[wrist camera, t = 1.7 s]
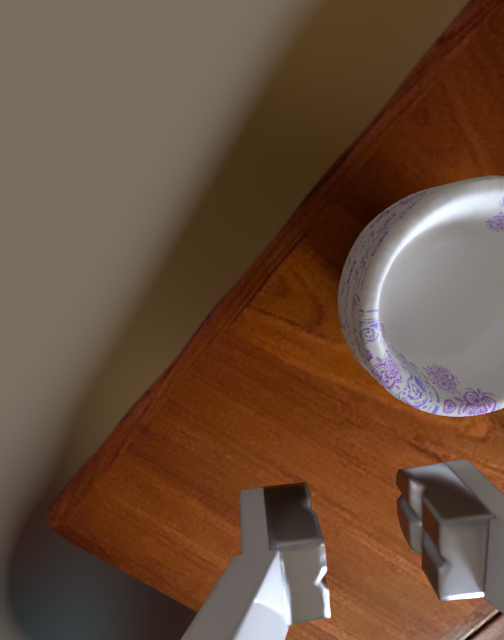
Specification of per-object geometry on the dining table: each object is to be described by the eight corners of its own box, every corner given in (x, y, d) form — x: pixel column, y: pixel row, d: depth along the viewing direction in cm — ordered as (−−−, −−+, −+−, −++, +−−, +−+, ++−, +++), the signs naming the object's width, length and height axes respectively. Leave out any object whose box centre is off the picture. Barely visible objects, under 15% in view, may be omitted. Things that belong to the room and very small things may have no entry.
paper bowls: (537, 225, 28) (654, 222, 20) (456, 391, 31) (530, 443, 23) (365, 163, 26) (421, 133, 18) (299, 346, 29) (322, 387, 22)
